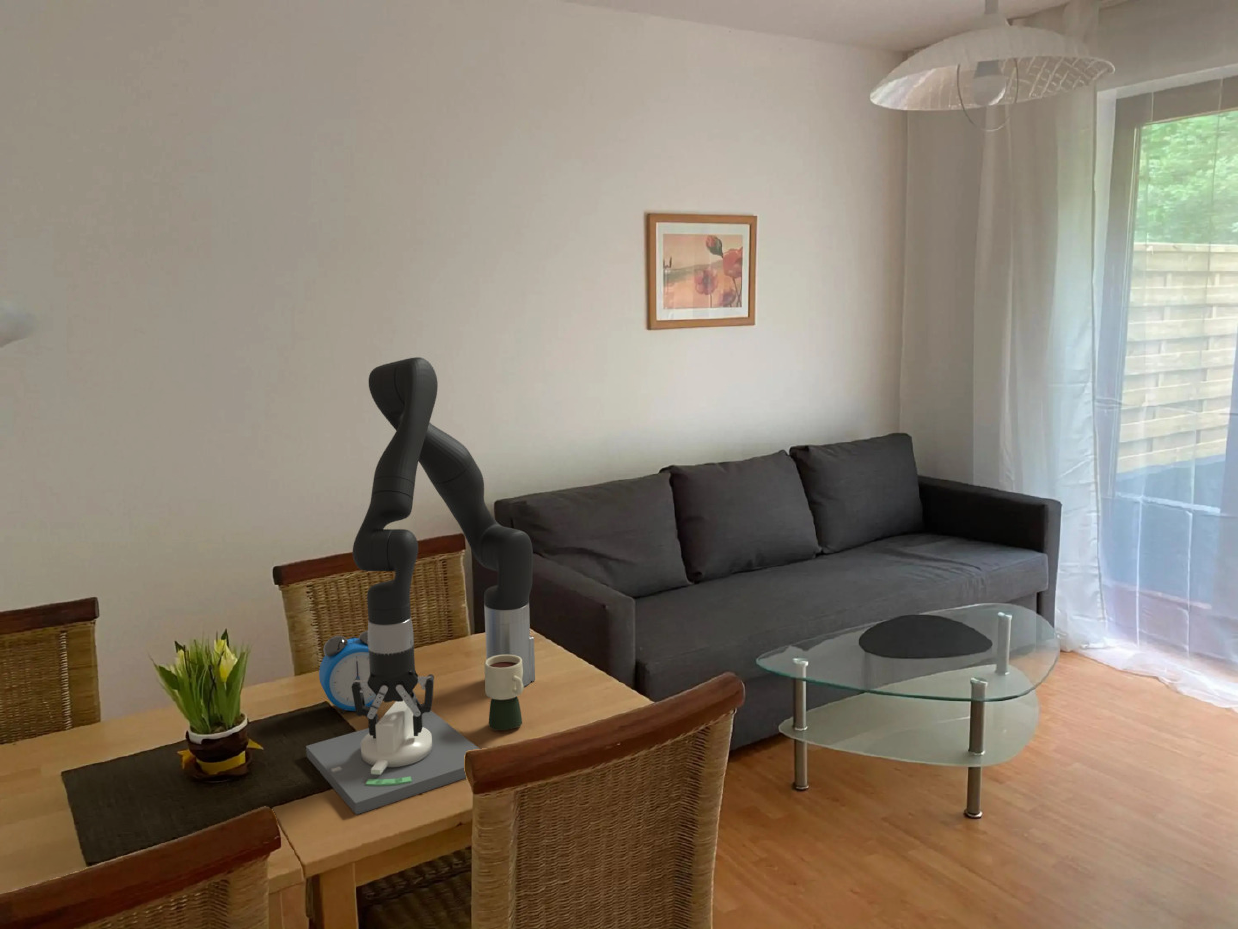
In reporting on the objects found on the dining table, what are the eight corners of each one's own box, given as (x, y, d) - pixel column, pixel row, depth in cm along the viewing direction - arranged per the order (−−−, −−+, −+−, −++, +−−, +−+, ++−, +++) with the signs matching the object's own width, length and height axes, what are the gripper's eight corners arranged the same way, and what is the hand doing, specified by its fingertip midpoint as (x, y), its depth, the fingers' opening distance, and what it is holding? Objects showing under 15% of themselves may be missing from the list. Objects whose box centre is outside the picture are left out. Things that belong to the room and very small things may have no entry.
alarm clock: (326, 719, 182) (321, 645, 179) (320, 706, 187) (315, 635, 185) (394, 705, 188) (390, 633, 185) (386, 693, 193) (382, 624, 190)
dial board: (431, 720, 181) (431, 709, 180) (491, 769, 162) (491, 756, 161) (306, 756, 167) (305, 744, 166) (356, 815, 148) (355, 801, 147)
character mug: (537, 730, 176) (536, 664, 174) (505, 742, 171) (503, 674, 169) (505, 711, 184) (503, 648, 182) (474, 722, 180) (471, 657, 177)
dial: (377, 733, 170) (375, 696, 169) (441, 736, 169) (439, 699, 168) (341, 775, 155) (338, 736, 154) (411, 779, 154) (408, 739, 152)
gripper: (435, 634, 165) (440, 723, 168) (351, 638, 163) (357, 728, 166) (432, 649, 157) (436, 743, 160) (343, 654, 156) (350, 748, 159)
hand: (396, 735), depth 163 cm, fingers open, 6 cm apart
